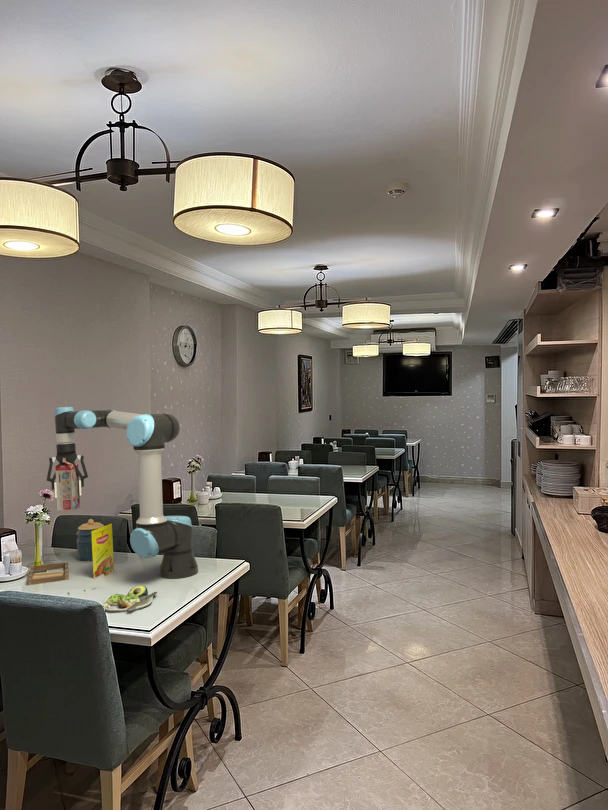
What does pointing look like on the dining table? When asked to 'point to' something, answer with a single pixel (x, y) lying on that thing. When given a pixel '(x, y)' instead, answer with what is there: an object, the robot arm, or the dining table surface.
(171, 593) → the dining table surface
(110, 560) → the food package
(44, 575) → the upper oak offcut
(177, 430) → the robot arm
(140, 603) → the salad plate
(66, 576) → the walnut rack
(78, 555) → the canister
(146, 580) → the dining table surface
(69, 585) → the dining table surface
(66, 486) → the juice carton
